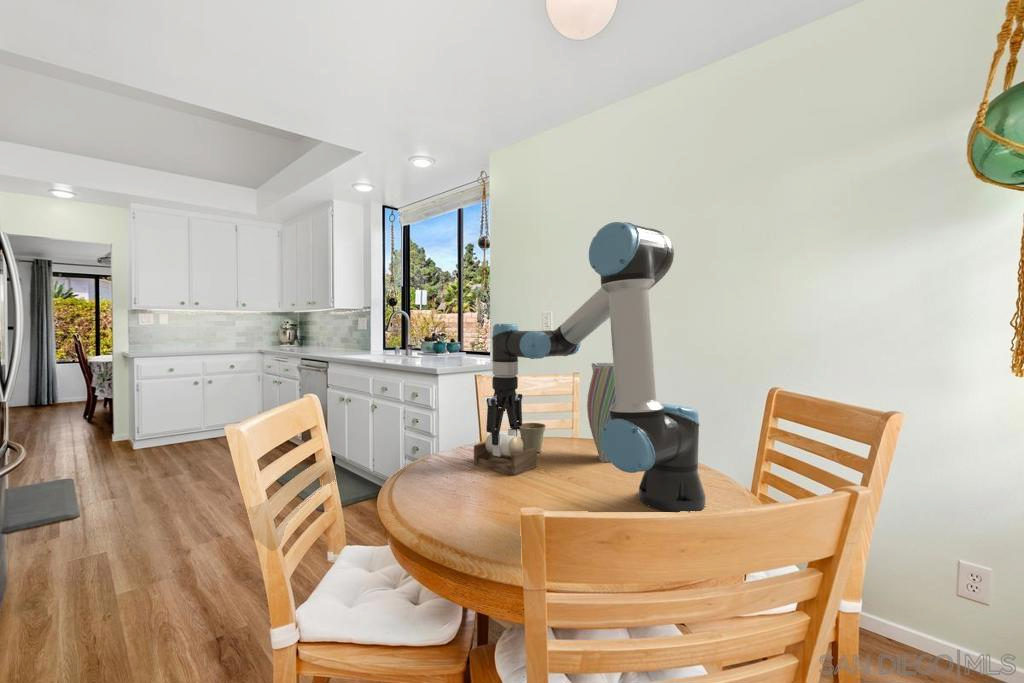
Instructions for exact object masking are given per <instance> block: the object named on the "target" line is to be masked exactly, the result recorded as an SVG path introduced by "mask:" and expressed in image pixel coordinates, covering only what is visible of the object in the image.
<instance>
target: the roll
mask: <svg viewBox="0 0 1024 683" xmlns="http://www.w3.org/2000/svg"><path fill="white" fill-rule="evenodd" d="M500 434H501V455H503V456H509V457H511V455H512V454H515V453H518V452H521V451H523V441H522V439H521V436H518V435H517V436H510V435H508V434H502V433H500ZM485 442H486V443H485ZM485 442H484V443H485V446H486V450H487V451H488V452H489V453H492V454H493V445H492V434H491V433H489V435H488V436H487V437H486V440H485Z"/></svg>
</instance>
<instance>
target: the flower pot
mask: <svg viewBox="0 0 1024 683" xmlns="http://www.w3.org/2000/svg"><path fill="white" fill-rule="evenodd" d="M519 427H520V430H518V431H519V432H520V438H521V439H522V441H523V451H524V450H527V449H530V448H533V447H534V448H537V453H541V452H542V448H543V440H544V432H545V431H546V428H547V425H546V424H544V423H541V422H524V423H523V422H522V426H519Z"/></svg>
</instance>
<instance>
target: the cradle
mask: <svg viewBox="0 0 1024 683" xmlns="http://www.w3.org/2000/svg"><path fill="white" fill-rule="evenodd" d="M485 443H486V441H484V442H482V443H478V444H474V445H473V465H474V466H476V467H477V466H478V467H481V468H485V469H489V470H492V471H495V472H499V473H503V474H506V475H510V476H513V477H516V476H518V475H521V474H524V473H526V472H528V471H531V470H534V469H537V465H538V464H537V454H538V452H537V448H534V447H533V448H530V449H527V450H524V451H521V452H518V453H515V454H512V455H511V457H509V456H503V455H501V456H500V457H499V456H495V455H493V454H492V453H489V452H488V451H487V450H486V446H485Z"/></svg>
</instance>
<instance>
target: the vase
mask: <svg viewBox="0 0 1024 683" xmlns="http://www.w3.org/2000/svg"><path fill="white" fill-rule="evenodd" d="M591 368H592V376H591V379H590V383H589V388H588V394H587V399H586V400H587V401H586V402H587V403H586V408H587V410H586V411H587V418H588V425H589V428H590V432H591V436H592V438H593V441H594V444H595V449H596V451H597V454H598V458H599V461H600V462H601V463H612V462H611V461H610V460H608V458H607V457H606V455H605V453H604V451H603V448H602V444H601V433H602V430H603V428H605V425H606V424H607V423H608V422H610V407H611V406H612V405H613V404H614V403H615V401H616V394H615V379H614V365H613V362H591Z"/></svg>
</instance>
